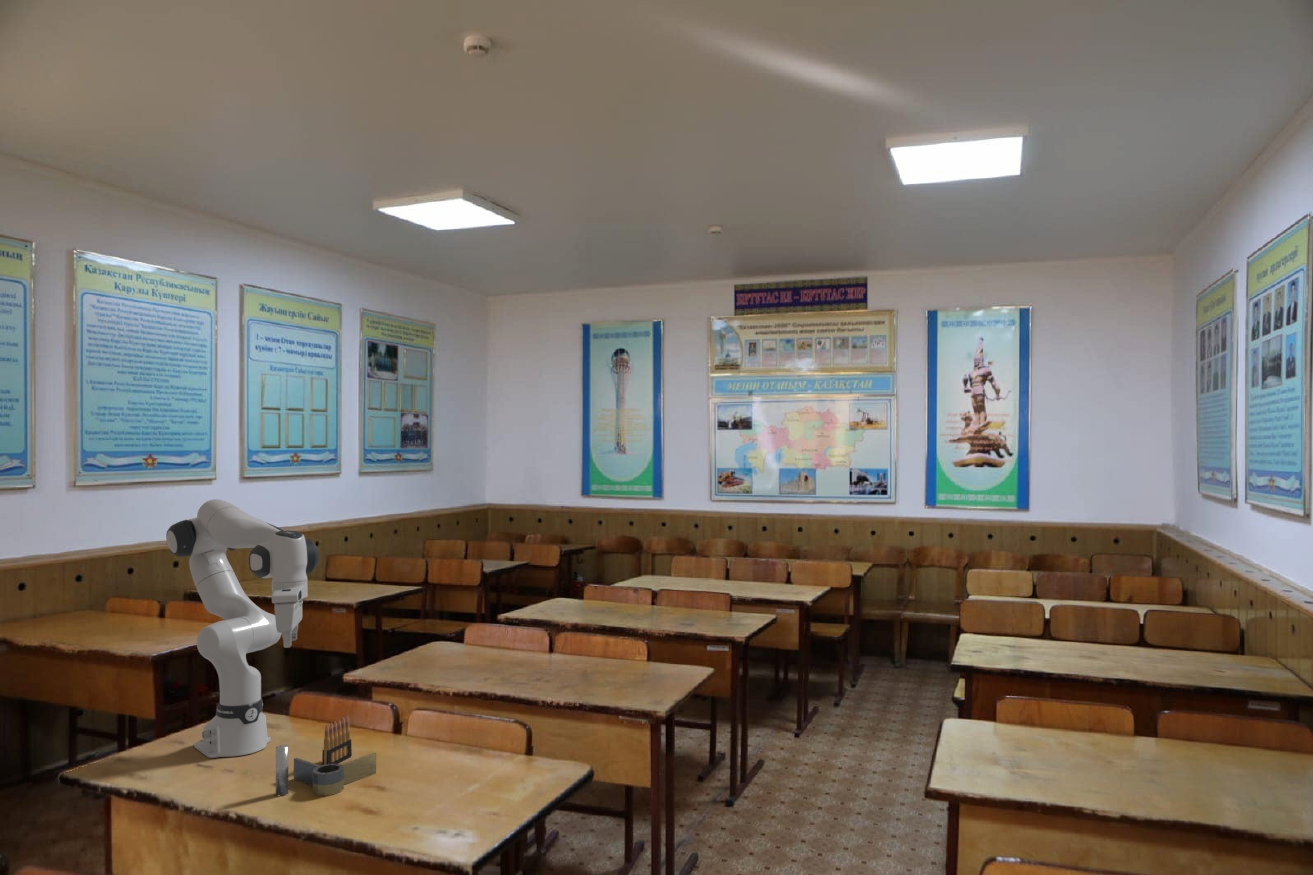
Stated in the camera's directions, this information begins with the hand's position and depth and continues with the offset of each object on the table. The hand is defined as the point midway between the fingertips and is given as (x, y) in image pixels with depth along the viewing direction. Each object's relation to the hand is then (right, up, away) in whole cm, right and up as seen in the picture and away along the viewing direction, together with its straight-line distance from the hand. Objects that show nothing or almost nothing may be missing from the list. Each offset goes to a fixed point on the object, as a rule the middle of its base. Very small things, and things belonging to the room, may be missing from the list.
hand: (290, 643), depth 229 cm
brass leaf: (+16, -37, -2) cm, 40 cm away
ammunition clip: (+7, -37, +14) cm, 41 cm away
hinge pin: (+1, -37, -9) cm, 38 cm away
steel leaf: (+8, -37, -4) cm, 38 cm away
